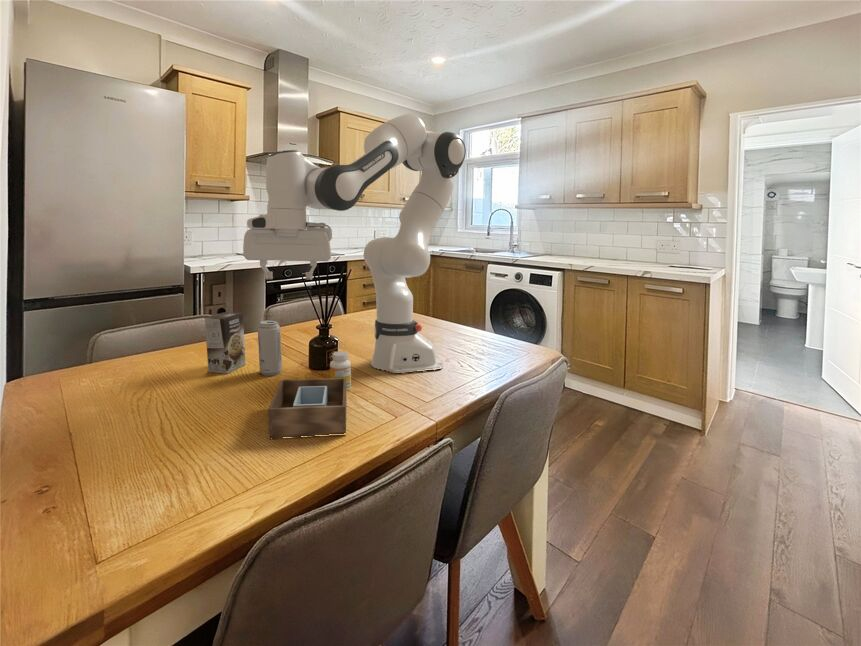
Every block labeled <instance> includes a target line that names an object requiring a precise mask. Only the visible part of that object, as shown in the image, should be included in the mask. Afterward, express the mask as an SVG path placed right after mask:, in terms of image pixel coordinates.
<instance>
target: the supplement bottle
mask: <svg viewBox="0 0 861 646" xmlns="http://www.w3.org/2000/svg"><path fill="white" fill-rule="evenodd" d="M351 366H352V364H351V361H350V360H349V352H348V351H344V350H343V351H342V350H338V351H334V352H333V353H332V360H331V361H330V363H329V372H330V373H329V379H330V378H346V391H349V390H350V389H351V388H352V373H351V372H352V370H351V368H352V367H351Z"/></svg>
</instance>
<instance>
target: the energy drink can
mask: <svg viewBox="0 0 861 646" xmlns="http://www.w3.org/2000/svg"><path fill="white" fill-rule="evenodd" d="M281 339H282V336H281V326H280V325H279V322H278V321H277V320H271V319H269V320H262V321H260V322H259V325H258V327H257V342H258V343H257V344H258V345H257V346H258V359H259V360H258V361H259V362H258V363H259V364H258V365H259V372H260V373H261V375H263V376H277V375H279V374H281V371H282V370H283V364H282V363H283V362H282V340H281Z"/></svg>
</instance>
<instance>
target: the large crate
mask: <svg viewBox="0 0 861 646" xmlns="http://www.w3.org/2000/svg"><path fill="white" fill-rule="evenodd" d="M306 386H327V403H328V406H315V407H293V404H294V401H295V398H296V394H297V391H298V388H299V387H306ZM267 416H268V417H267V418H268V434H269V435H268V436H269V438H270V439H269V438H268V439H269V440H272V439H271V438H283V437H301V436H315V435H329V434H344V433H346V434H347V390H346V378H330V377H329V378H303V379H302V378H299V379H295V378H294V379H280V381H279V384H278V385H277V388H276V389H275V393H274V394H273V397H272V400H271V401H270V404H269V406H268V408H267Z"/></svg>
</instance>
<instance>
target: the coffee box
mask: <svg viewBox="0 0 861 646" xmlns="http://www.w3.org/2000/svg"><path fill="white" fill-rule="evenodd" d="M204 324H205V325H204V326H205V341H206V342H205V343H206V356H207V357H206V358H207V370H208V372H209V373H214V374H215V373H217V374H223V373H224V374H225V375H228V374H230V373H232V372H234V371H236V370H238V369H240V368H242V367H245V366H246V351H245V350H246V349H245V348H246V347H245V332H244V314H243V312H225V311H224V312H221V313H220V312H219V313H216V314H213V315H210V316H206V317H204Z"/></svg>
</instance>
